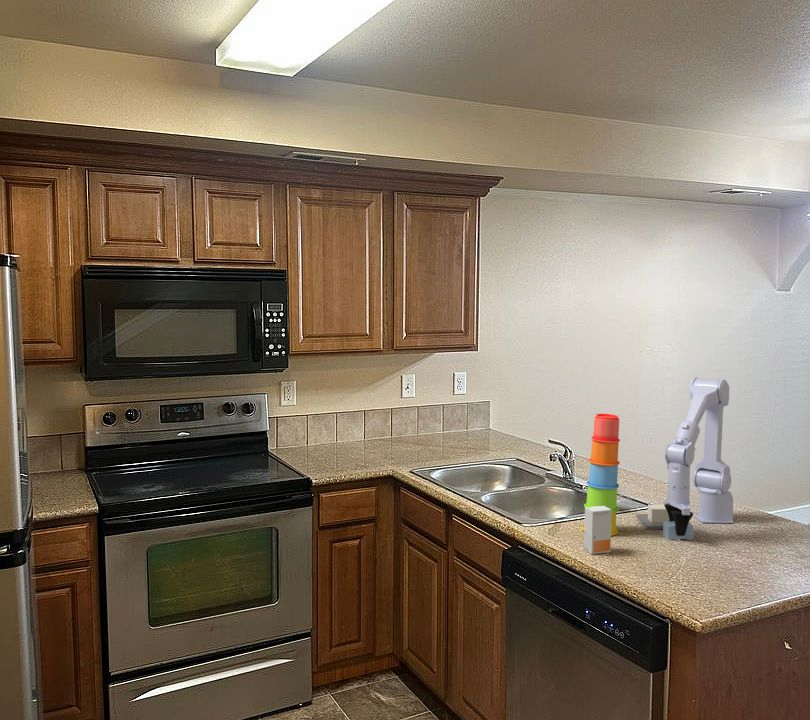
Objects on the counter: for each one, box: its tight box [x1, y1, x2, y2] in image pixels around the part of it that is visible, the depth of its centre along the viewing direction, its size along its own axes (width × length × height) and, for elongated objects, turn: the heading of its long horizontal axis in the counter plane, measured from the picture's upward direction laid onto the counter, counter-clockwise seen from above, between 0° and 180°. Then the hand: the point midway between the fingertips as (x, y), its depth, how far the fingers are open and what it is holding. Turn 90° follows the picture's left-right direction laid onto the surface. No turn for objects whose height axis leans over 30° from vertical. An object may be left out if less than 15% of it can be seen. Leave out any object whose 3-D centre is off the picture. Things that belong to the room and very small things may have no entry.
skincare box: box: [583, 506, 612, 555], centre depth 207 cm, size 6×4×12 cm
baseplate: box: [636, 513, 663, 531], centre depth 231 cm, size 12×12×1 cm
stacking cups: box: [581, 413, 621, 537], centre depth 223 cm, size 10×10×35 cm
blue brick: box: [662, 521, 694, 540], centre depth 218 cm, size 7×4×4 cm, turn 89°
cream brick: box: [647, 504, 669, 522], centre depth 231 cm, size 7×4×4 cm, turn 87°
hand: (677, 532), depth 218 cm, fingers closed on blue brick, 5 cm apart
